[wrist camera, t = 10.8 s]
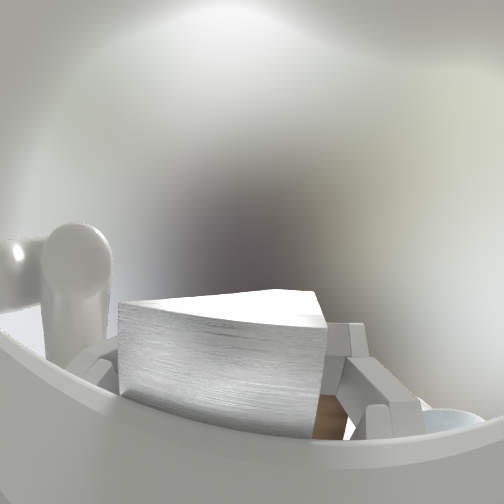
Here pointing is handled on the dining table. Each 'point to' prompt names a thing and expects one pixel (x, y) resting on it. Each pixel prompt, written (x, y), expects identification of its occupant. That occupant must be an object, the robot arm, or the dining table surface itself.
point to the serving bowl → (448, 419)
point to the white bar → (227, 359)
